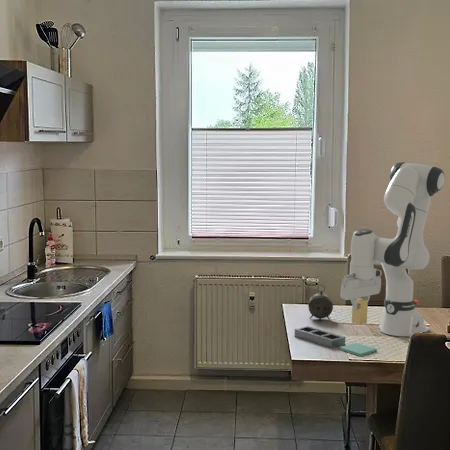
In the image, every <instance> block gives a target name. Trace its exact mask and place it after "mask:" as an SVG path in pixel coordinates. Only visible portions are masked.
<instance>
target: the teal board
mask: <svg viewBox="0 0 450 450" xmlns="http://www.w3.org/2000/svg"><path fill="white" fill-rule="evenodd" d="M342 350H343V352H345V351H346V352H345V353H348V352H349V354H351V353H352V354H351V355H354V354H355V355H356V356H358V357H362V355H363V356H366V355H369V353H370V354H373V353H376V352H378V349H377V348H375V347H371V346H368V345H365V344H362V343H360V342H353V343H350V344H345V345H342V346H339V351H342ZM375 351H376V352H375ZM372 352H373V353H372ZM365 354H366V355H365Z"/></svg>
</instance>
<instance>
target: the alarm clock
mask: <svg viewBox="0 0 450 450" xmlns="http://www.w3.org/2000/svg"><path fill="white" fill-rule="evenodd" d="M321 286H323V288H324V290H319V288H320V287H321ZM325 290H326V286H325V285H323V284H319V285H318V286H317V291H318V292H317V293H314V294H312V295H311V296H310V298H309V300H308V303H307V305H308V310H309V313H310V316H309V320H310V319H312V318H313V317H314V318H317V319H318V320H319V322H320V321H321V320H322V319H326V318H327V319H328V321H331V320H330V317H329V316H330V315H331V314H332V312H333V309H334V305H333V301H332V298H331V297H330V296H329V295H327V293H324V291H325Z"/></svg>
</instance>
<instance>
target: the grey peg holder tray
mask: <svg viewBox="0 0 450 450" xmlns="http://www.w3.org/2000/svg"><path fill="white" fill-rule="evenodd" d="M295 337H296V338H298V339H301V340H304V341H308V342H310V343H315V344H317V345H321V346H324V347H326V348H330V349H334V347H335V348H338V347H342V346H346V336H343V335H340V334H335V333H332V332H329V331H327V330H326V331H325V330H322V329H319V328H315V327H314V326H309V325H307V326H303V327H299V328H294V338H295ZM341 345H342V346H341Z"/></svg>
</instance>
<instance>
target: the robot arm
mask: <svg viewBox="0 0 450 450" xmlns="http://www.w3.org/2000/svg"><path fill="white" fill-rule="evenodd" d="M389 180H390V181H389V183H388V186H387V188H386V190H385V193H384V196H383V202H384V203H383V204H384V205H385V207H386V208H387V210H388V211H390V213H392V214H393V215H395V216H397V217H398V218H397V222H396V226H397V228H398V229H397V232H396V236H395V237H393V238H385V237H379V236H378V235H376V234H374V230H371V229H367V228H366V229H365V228H363V229H357V230H356V231H354V232H353V233H352V237H351V241H350V258H351V259H350V262H349V274H346V275H345V276H344V277H343V279H342V282H341V286H340V295H339V296H340V299H342V300H346V301H350V302H351V305H352V308H351V309H354V310H356V309H358V307H359V305H357V302H356V301H357V298H362V299H367V300H368V302H369V301H370V298H371V296H373V295H374V296H375V295H378V294H380V292H381V288H382V279H381V276H382V270H383V274H384V277H385V298H384V301H383V306H384V308H383V309H382V313H381V320H380V324H378V328H379V329H380V330H379V331H380V332H381V333H382V334H386V335H388V336H389V335H390V336H393V337H410V336H411V335H412V334H413V333H416V332H425V333H427V332H428V331H430V327H428V326H426V325H424V324H425V319H424V316H423V315H422V314H421V313H420V312H419V311H418V310H417V309H416V305H419V303H420V301H419V300H418V299H413V298H414V281H413V279H412V278H411V277H410V276H409V274H408V272H407V270H410V271H411V270H412V271H413V270H414V271H415V270H416V271H418V270H423V269H425V268H426V267H427V266H428V264H429V262H430V252H429V250H428V248H427V247H426V244H425V242H424V229H425V225H426V221H427V219H428V214H429V211H430V207H431V200H432V197H433V196H434V195H435V194H437V193H438V192H440V191H441V190H442V188H443V186H444V183H445V173H444V170H442V169H441V168H439V167H436V166H430V165H427V164H422V163H412V162H411V163H409V162H404V161H403V162H402V161H399V162H395V164H393V166H392V167H391V169H390V172H389ZM374 262H376V263H378V264H379V263H380V266H381V267H382V270H381V269H377V268H375V267H374V265H375V263H374ZM406 269H407V270H406ZM410 338H411V337H410Z"/></svg>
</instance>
